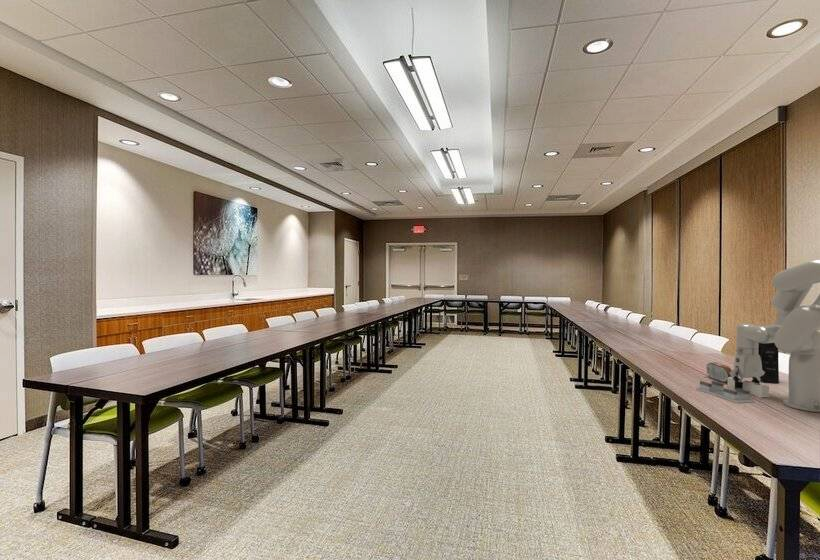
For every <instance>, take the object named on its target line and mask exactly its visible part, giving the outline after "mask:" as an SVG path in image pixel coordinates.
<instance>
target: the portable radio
mask: <svg viewBox="0 0 820 560" xmlns="http://www.w3.org/2000/svg"><path fill="white" fill-rule="evenodd" d="M758 355H760V358H761V363H762V370H763V371H764V372H765V373H764V375H763V377H762V378H761V381H760V382H762V383H765V384H766V383H768V384H780V376H779V374H780V372H779V370H780V369H779V368H780V367H779V365H780V364H779V349H778V348H777V347H776V345H775V343H758Z"/></svg>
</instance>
